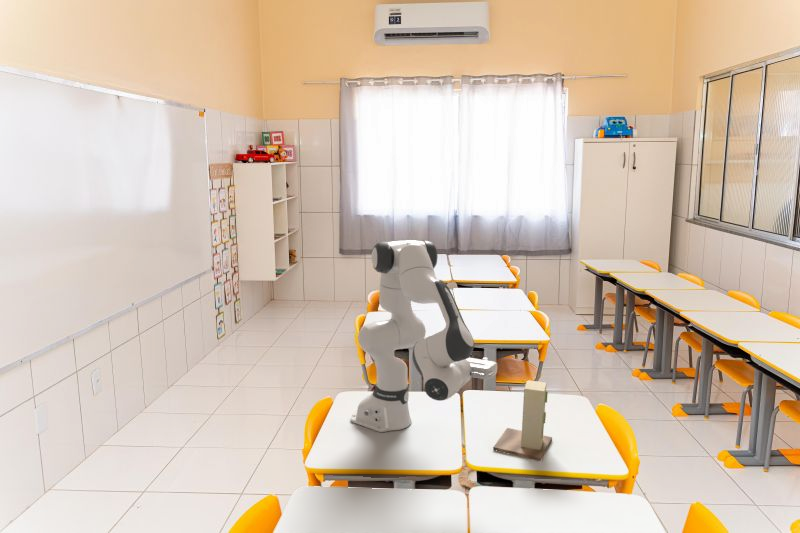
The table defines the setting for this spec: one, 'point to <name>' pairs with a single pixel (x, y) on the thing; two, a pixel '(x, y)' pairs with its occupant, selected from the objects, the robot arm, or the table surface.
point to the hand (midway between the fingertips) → (472, 357)
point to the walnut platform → (512, 445)
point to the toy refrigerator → (533, 414)
